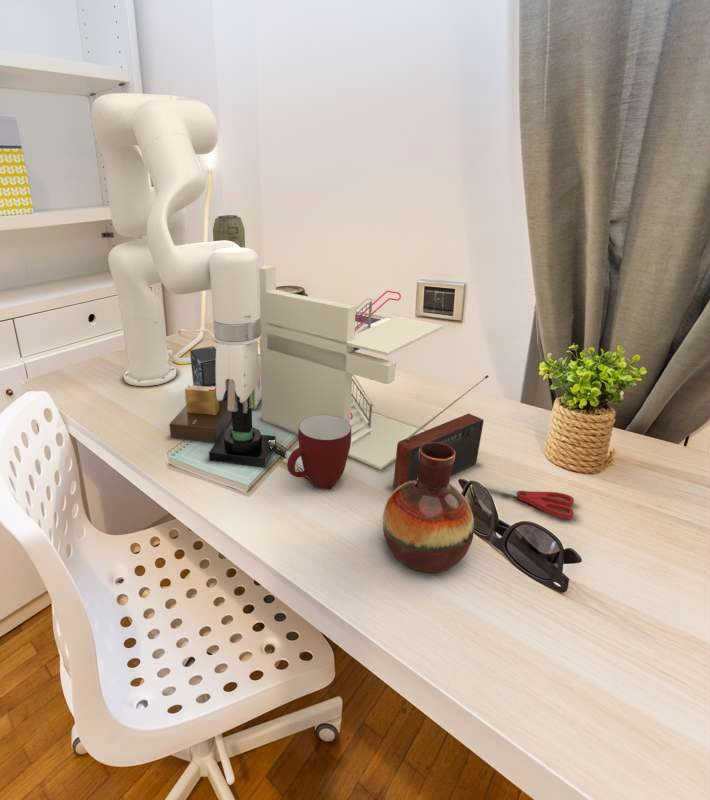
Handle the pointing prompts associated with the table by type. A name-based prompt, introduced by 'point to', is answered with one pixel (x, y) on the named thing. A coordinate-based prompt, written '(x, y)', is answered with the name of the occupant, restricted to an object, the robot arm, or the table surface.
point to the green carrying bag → (229, 230)
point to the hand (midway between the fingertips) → (242, 429)
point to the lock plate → (200, 424)
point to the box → (204, 367)
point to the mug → (322, 450)
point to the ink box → (257, 390)
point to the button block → (242, 449)
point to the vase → (429, 515)
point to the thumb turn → (201, 400)
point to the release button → (242, 435)
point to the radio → (454, 433)
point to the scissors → (544, 501)
